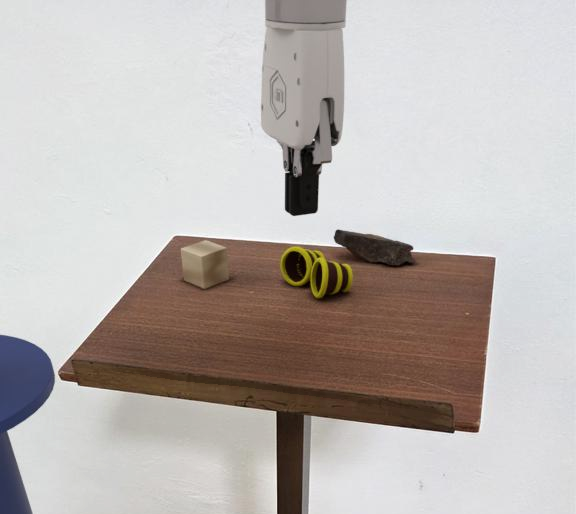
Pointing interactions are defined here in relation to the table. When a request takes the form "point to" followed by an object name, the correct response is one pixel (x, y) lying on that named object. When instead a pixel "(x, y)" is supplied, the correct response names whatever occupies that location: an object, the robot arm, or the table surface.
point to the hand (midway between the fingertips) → (301, 212)
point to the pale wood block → (205, 264)
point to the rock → (375, 247)
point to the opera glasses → (315, 271)
